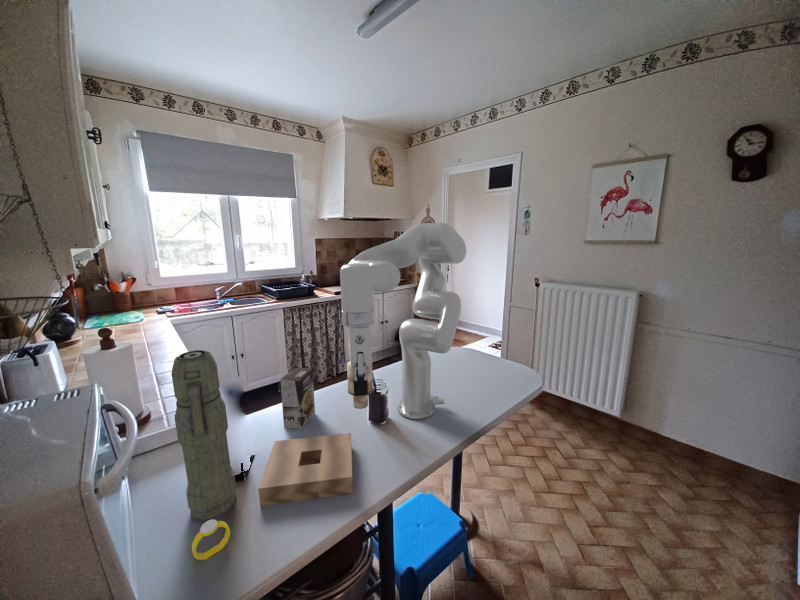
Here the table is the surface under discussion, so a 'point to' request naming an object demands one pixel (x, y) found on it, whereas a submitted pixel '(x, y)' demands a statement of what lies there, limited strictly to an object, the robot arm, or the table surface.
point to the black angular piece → (244, 475)
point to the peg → (358, 401)
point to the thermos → (203, 435)
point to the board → (307, 469)
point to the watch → (206, 530)
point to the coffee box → (297, 397)
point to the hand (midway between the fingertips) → (360, 387)
